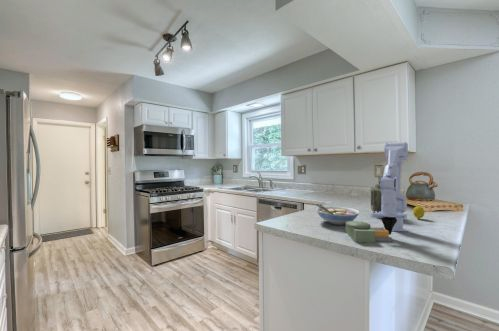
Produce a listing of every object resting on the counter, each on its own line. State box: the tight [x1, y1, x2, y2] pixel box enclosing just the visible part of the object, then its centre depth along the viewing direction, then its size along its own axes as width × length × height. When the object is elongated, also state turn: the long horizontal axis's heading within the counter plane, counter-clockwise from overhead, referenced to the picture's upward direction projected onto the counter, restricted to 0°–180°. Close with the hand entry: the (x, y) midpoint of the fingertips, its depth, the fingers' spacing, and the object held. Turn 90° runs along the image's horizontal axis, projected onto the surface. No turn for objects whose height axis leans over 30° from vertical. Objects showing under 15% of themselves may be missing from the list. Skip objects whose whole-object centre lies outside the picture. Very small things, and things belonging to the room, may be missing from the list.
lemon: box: [412, 205, 425, 220], centre depth 144 cm, size 6×6×8 cm
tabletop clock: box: [370, 176, 382, 213], centre depth 151 cm, size 14×9×25 cm, turn 159°
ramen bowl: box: [315, 204, 360, 226], centre depth 134 cm, size 25×23×8 cm
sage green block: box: [345, 220, 393, 244], centre depth 110 cm, size 15×18×6 cm
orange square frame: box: [370, 226, 390, 237], centre depth 109 cm, size 6×7×4 cm
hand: (388, 233), depth 109 cm, fingers closed
